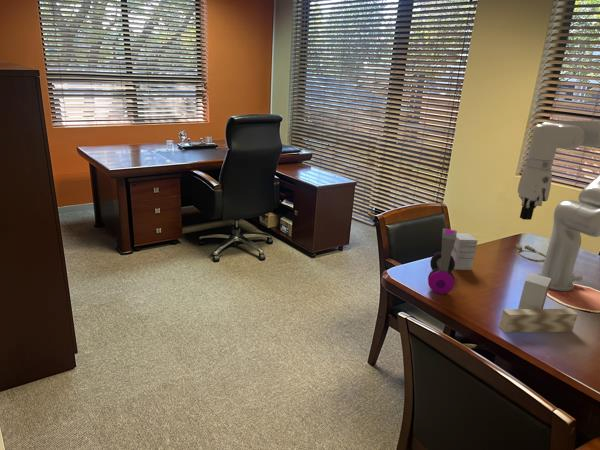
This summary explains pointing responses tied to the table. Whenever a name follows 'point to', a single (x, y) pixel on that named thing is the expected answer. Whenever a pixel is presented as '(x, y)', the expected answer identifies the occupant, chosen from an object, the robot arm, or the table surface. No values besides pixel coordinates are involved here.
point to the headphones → (443, 265)
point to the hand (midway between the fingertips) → (525, 218)
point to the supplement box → (464, 251)
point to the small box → (534, 292)
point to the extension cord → (527, 247)
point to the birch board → (537, 320)
